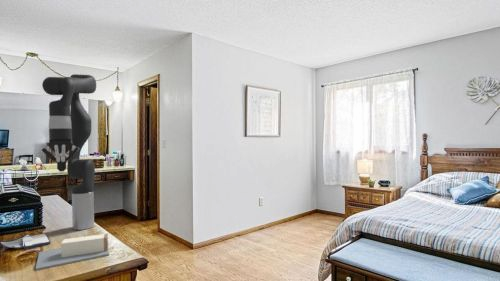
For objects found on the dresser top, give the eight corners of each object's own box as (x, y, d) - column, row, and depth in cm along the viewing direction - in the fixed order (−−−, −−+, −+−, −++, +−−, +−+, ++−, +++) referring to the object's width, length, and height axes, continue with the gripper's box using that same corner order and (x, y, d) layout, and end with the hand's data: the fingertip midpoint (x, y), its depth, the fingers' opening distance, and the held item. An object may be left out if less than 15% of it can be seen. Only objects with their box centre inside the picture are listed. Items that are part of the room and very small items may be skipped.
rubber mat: (39, 253, 111) (39, 251, 111) (103, 241, 123) (103, 240, 123) (35, 270, 97) (35, 268, 97) (108, 255, 109) (108, 253, 109)
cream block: (61, 243, 106) (107, 237, 111) (64, 239, 110) (108, 233, 116) (61, 257, 106) (107, 250, 111) (64, 252, 110) (108, 246, 116)
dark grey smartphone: (21, 241, 127) (24, 251, 115) (21, 237, 127) (24, 246, 115) (45, 236, 133) (51, 245, 121) (45, 233, 133) (51, 241, 121)
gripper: (81, 127, 122) (82, 169, 123) (43, 128, 117) (44, 171, 118) (77, 127, 115) (79, 171, 116) (37, 127, 110) (39, 173, 111)
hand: (61, 171), depth 117 cm, fingers closed
